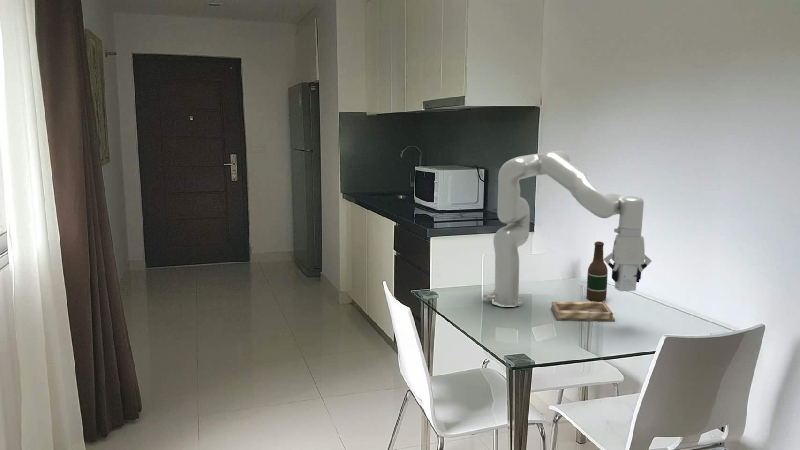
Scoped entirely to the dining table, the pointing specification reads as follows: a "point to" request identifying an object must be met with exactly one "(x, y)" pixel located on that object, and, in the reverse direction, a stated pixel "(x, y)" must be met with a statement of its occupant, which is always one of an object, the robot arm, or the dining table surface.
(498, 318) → the dining table surface
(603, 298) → the beer bottle
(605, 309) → the wooden tray
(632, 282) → the skincare box
